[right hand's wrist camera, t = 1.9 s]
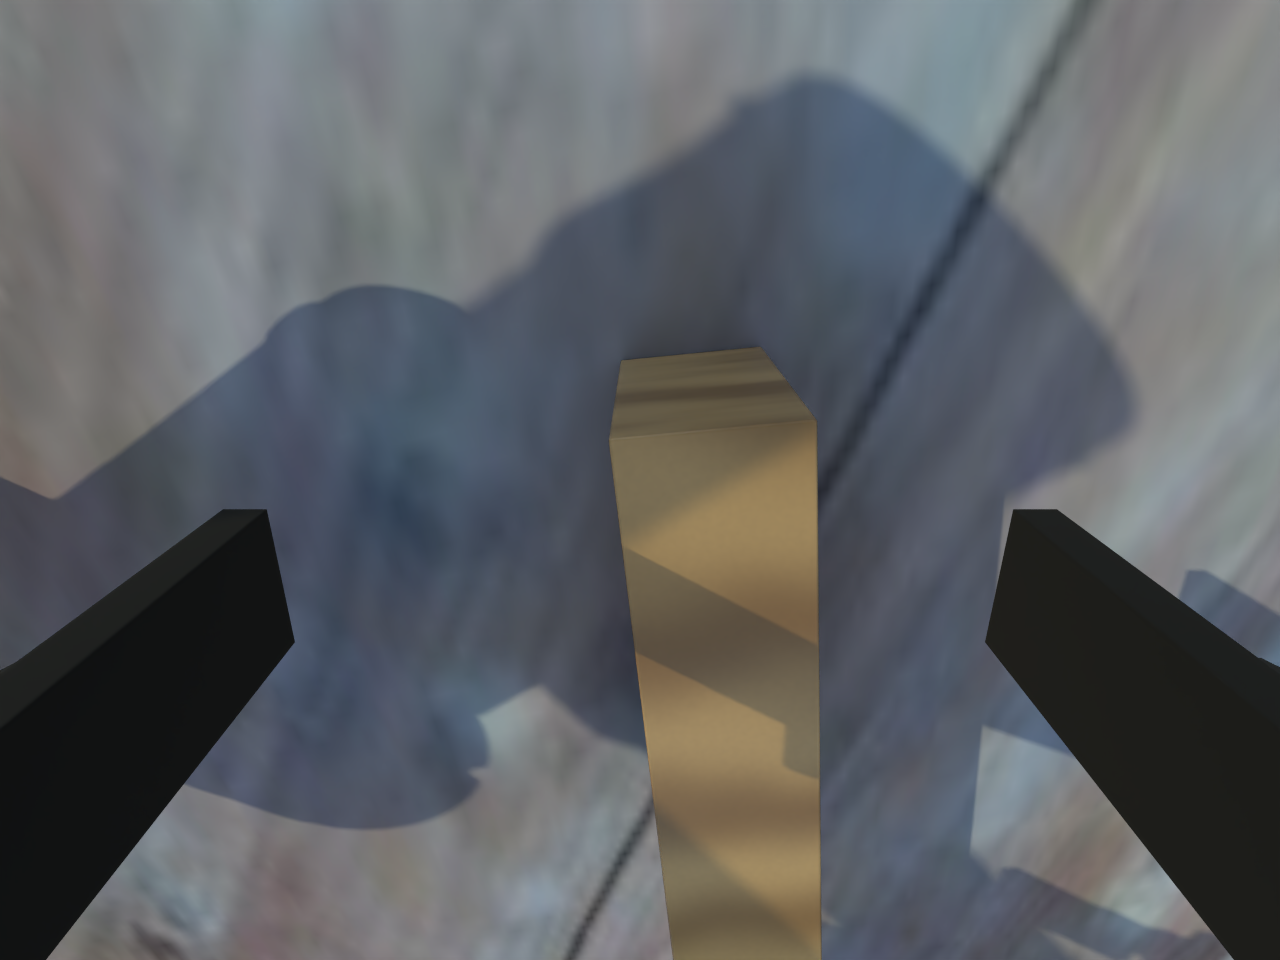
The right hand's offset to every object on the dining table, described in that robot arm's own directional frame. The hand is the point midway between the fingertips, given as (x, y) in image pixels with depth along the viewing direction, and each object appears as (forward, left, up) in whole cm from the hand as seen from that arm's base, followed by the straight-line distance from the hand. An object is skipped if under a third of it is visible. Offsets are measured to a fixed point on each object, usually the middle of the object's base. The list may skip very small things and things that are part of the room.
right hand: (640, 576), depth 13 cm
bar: (-2, +10, -14) cm, 17 cm away
